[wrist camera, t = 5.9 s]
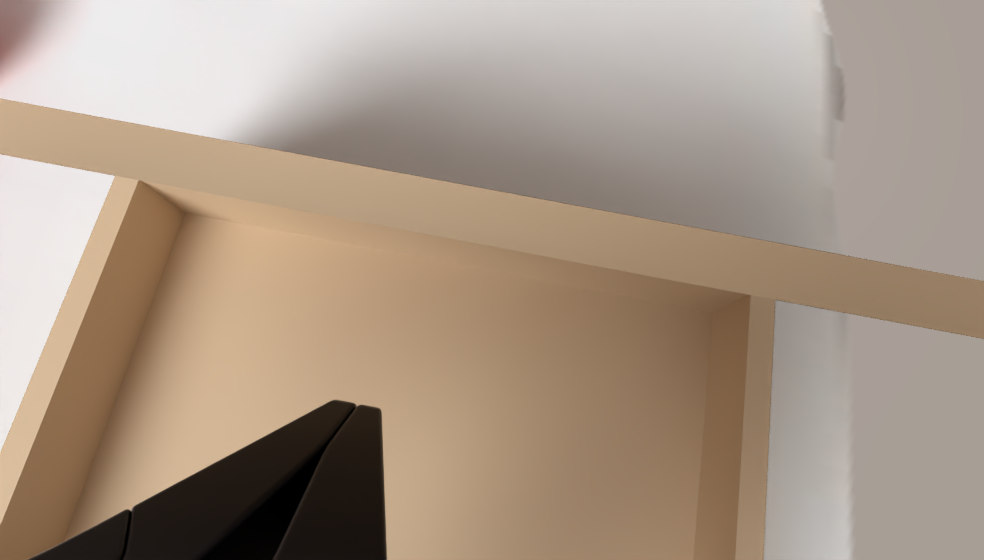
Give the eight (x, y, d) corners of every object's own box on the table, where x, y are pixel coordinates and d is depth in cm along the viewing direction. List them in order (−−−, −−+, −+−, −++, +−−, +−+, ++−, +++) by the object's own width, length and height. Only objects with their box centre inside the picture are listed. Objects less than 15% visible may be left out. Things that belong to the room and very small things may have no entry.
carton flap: (749, 289, 17) (1030, 347, 8) (136, 174, 17) (-283, 101, 8) (755, 264, 17) (1045, 292, 8) (139, 149, 17) (-278, 46, 8)
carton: (693, 792, 17) (748, 885, 13) (9, 651, 17) (-105, 706, 14) (727, 299, 21) (776, 275, 18) (179, 196, 21) (124, 153, 18)
